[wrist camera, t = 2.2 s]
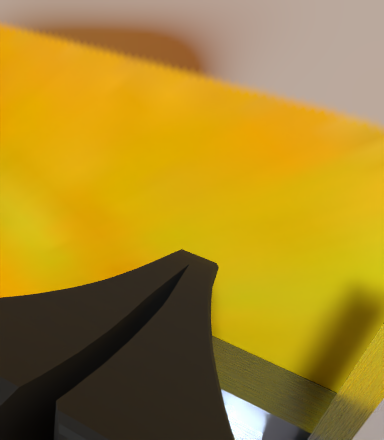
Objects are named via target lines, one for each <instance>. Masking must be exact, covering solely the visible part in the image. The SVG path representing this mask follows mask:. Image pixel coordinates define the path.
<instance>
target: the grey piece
mask: <svg viewBox="0 0 384 440" xmlns="http://www.w3.org/2000/svg"><path fill="white" fill-rule="evenodd" d="M212 343H213V351H214V357H215V364H216V370H217V374H218V379H219V383H220V387H221V392H222V396H223V400H224V405H225V408H226V412H227V415H228V416H229V417H231V418H233V419H235V420H237V421H239V422H241V423H243V424H245V425H247V426H249V427H251V428H253V429H255V430H257V431H259V432H261V433H263V435H262V440H307V438H308V437H309V435H310V434H311V432H312V431H313V429H314V428H315V426H316V425H317V423H318V422H319V420H320V419H321V417H322V416H323V414H324V413H325V411H326V410H327V408H328V407H329V405H330V404H331V402H332V401H333V399H334V398H335V396H336V395H337V393H335V392H333V391H331V390H329V389H327V388H325V387H322V386H320V385H318V384H316V383H314V382H311V381H309V380H307V379H305V378H303V377H301V376H298V375H296V374H294V373H292V372H290V371H288V370H285V369H283V368H281V367H279V366H277V365H274V364H272V363H270V362H268V361H266V360H264V359H261V358H259V357H257V356H255V355H253V354H250V353H248V352H246V351H244V350H242V349H240V348H237V347H235V346H233V345H231V344H229V343H226V342H224V341H222V340H220V339H218V338H216V337H213V336H212Z"/></svg>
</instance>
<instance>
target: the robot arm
mask: <svg viewBox="0 0 384 440" xmlns="http://www.w3.org/2000/svg"><path fill="white" fill-rule="evenodd" d="M218 268H219V267H218V265H217V263H214V262H212V261H210V260H207V259H205V258H202V257H200V256H197V255H195V254H192V253H190V252H187V251H185V250H182V249H181V250H179V251H177V252H174V253H172V254H170V255H167V256H165V257H163V258H161V259H158V260H156V261H154V262H152V263H149V264H147V265H144V266H142V267H139V268H137V269H134V270H132V271H129V272H126V273H123V274H120V275H117V276H115V277H112V278H108V279H105V280H102V281H98V282H94V283H90V284H86V285H82V286H78V287H73V288H68V289H62V290H56V291H51V292H45V293H39V294H32V295H23V296H14V297H3V298H0V440H235V438H234V435H233V432H232V429H231V426H230V422H229V419H228V415H227V412H226V408H225V405H224V400H223V396H222V392H221V387H220V383H219V379H218V374H217V370H216V364H215V357H214V351H213V343H212V332H211V294H212V286H213V283H214V280H215V277H216V274H217V271H218Z"/></svg>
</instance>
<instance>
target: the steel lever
mask: <svg viewBox="0 0 384 440" xmlns="http://www.w3.org/2000/svg"><path fill="white" fill-rule="evenodd" d="M307 440H384V323H383V325H382V326H381V328H380V329H379V331H378V332H377V334H376V336H375V337H374V339H373V340H372V342H371V343H370V345H369V346H368V348H367V349H366V351H365V352H364V354H363V355H362V357H361V358H360V360H359V361H358V363H357V364H356V366H355V367H354V369H353V370H352V372H351V373H350V375H349V376H348V378H347V379H346V381H345V382H344V384H343V385H342V387H341V388H340V390H339V392H338V393H337V395H336V396H335V398H334V399H333V401H332V402H331V404H330V405H329V407H328V408H327V410H326V411H325V413H324V414H323V416H322V417H321V419H320V420H319V422H318V423H317V425H316V426H315V428H314V429H313V431H312V432H311V434H310V435H309V437H308V438H307Z"/></svg>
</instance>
